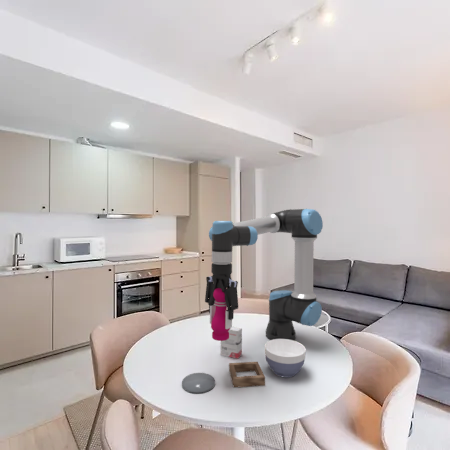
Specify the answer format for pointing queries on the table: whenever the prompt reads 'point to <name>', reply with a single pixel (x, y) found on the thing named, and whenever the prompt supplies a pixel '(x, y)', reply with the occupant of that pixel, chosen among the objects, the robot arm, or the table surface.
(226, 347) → the ink box
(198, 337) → the table surface
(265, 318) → the table surface
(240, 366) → the collar
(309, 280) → the robot arm
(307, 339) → the table surface
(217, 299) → the pepper mill
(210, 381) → the coaster
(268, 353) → the bowl
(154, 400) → the table surface
